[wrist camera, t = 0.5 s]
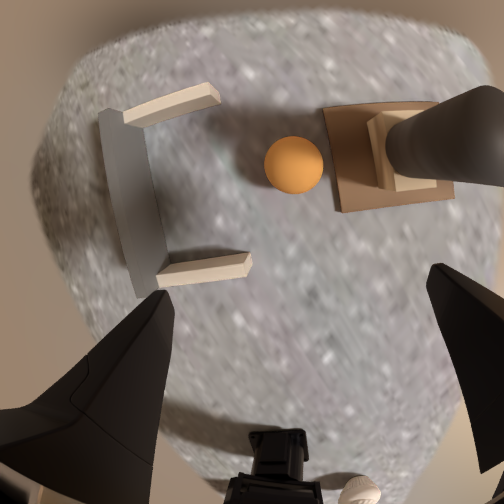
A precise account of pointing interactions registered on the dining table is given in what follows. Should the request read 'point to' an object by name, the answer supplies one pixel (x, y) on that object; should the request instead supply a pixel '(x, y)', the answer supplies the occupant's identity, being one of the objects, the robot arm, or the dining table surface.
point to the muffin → (359, 491)
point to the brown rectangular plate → (369, 159)
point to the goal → (153, 195)
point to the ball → (293, 165)
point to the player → (441, 142)
